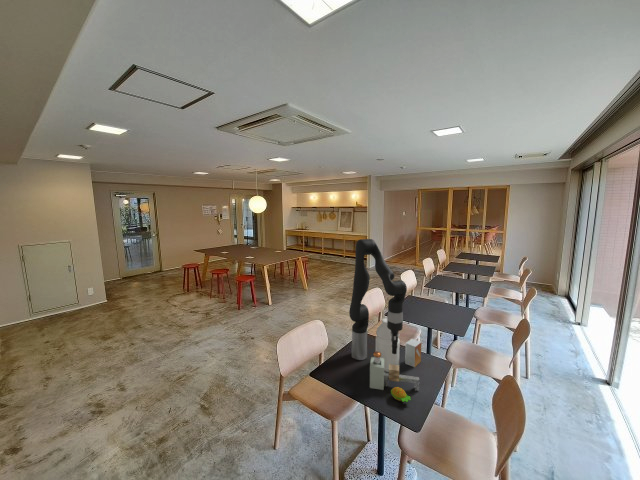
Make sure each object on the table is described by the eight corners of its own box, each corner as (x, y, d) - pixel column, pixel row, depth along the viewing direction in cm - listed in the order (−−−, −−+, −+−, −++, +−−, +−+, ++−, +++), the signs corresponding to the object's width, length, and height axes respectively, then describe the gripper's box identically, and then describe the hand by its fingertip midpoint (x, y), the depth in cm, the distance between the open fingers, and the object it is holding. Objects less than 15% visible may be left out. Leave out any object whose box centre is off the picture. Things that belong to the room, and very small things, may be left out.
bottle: (397, 359, 164) (397, 315, 161) (401, 373, 151) (402, 325, 147) (373, 358, 166) (374, 315, 162) (376, 371, 152) (376, 325, 149)
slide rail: (383, 385, 140) (383, 375, 139) (383, 382, 143) (384, 372, 142) (419, 391, 136) (419, 380, 135) (418, 388, 138) (418, 377, 137)
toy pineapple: (396, 391, 136) (397, 381, 135) (413, 403, 128) (413, 392, 127) (387, 397, 132) (387, 387, 131) (404, 409, 124) (404, 398, 123)
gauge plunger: (373, 371, 140) (373, 355, 139) (373, 366, 144) (373, 351, 143) (380, 372, 139) (381, 355, 138) (381, 367, 143) (381, 351, 142)
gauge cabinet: (369, 387, 139) (369, 366, 137) (371, 377, 147) (371, 356, 146) (383, 390, 137) (383, 368, 136) (384, 379, 146) (384, 358, 144)
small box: (414, 368, 155) (415, 346, 154) (404, 363, 160) (405, 343, 158) (421, 362, 161) (421, 341, 159) (411, 358, 165) (411, 338, 164)
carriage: (388, 380, 138) (389, 369, 137) (389, 374, 142) (389, 364, 142) (399, 381, 137) (399, 370, 136) (398, 376, 141) (398, 365, 140)
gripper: (387, 313, 143) (386, 341, 145) (387, 324, 130) (386, 355, 132) (402, 314, 141) (401, 343, 143) (403, 326, 128) (402, 357, 130)
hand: (394, 349), depth 138 cm, fingers open, 8 cm apart
